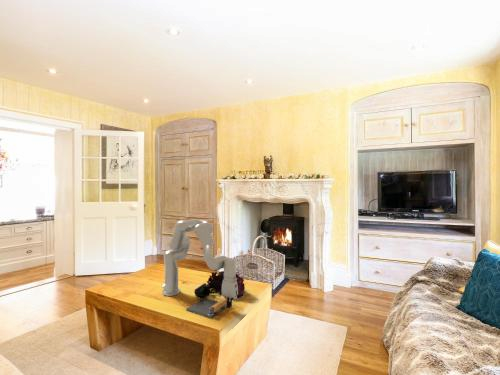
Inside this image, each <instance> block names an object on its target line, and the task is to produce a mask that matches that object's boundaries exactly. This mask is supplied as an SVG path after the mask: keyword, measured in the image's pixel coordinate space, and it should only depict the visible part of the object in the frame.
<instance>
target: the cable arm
mask: <svg viewBox="0 0 500 375" xmlns="http://www.w3.org/2000/svg"><path fill="white" fill-rule="evenodd" d="M225 304H227V301H226V299H225V297H223V298H222V299H220V300H219V301H218V302H217V303H216V304H214V305H213V306H211V307H209V314H214V312H216V311H217V310H219V309H220V308H221V307H223V306H224V305H225Z"/></svg>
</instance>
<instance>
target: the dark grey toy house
mask: <svg viewBox="0 0 500 375" xmlns="http://www.w3.org/2000/svg"><path fill="white" fill-rule="evenodd" d="M206 284H207V282H205V283H202V284H201V285H200V286H198V287H197V288H195V289H194V290H193V291H194V296H195V297H196V298H198V299H203V298H206V297H207V296H209V295H211V293H210V292H211V289H207V287H209V288H210V285H208V284H207V285H206Z"/></svg>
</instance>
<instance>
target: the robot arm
mask: <svg viewBox="0 0 500 375" xmlns="http://www.w3.org/2000/svg"><path fill="white" fill-rule="evenodd" d="M190 232H194V234H195V235H196V237H197V239H198V240H199V242H200V243H201V245H202V247H203V250H202V251H203V254H202V255H203V260H204V262H205V264H206V265H207V267H208V268H209V269H210V270H211V271H212V272H218V271H220V270H222V269H223V271H224V280H223V282H222V291H221V292H222V293H221V297H223V298H225V299H226V301H227V309H230V308H231V307H232V306H233V301H235V300H238V298H237V295H238V285H237V281H236V280H237V278H236V276H235V275H236V274H237V271H236V266H237V265H236V264H237V263H236V259H235V258H232V257H227V256H225V255H220V256H218V257H214V255H213V252H212V247H213V246H214V244H215V239H214V237H213V235H212V234H213V232H214V225H213V223H211V222H209V221H206V220H204V219H203V220H202V219H200V218H191V219H186V220H179V221H177V222H176V223H175V225H174V231H173V233H172V235H171V236H172V237H171V238H170V242H169V248H170V249H169V250H167V251H165V252H164V254H163V262H164V263H163V264H164V284H162V286H161V289H163V290H162V295H163V296H167V297H172V296H177V295H179V294H180V293H181V289H180V288H179V266H178V264H177V262H179V261H182V260H184V259H185V258H186V256H187V254H188V252H189V249H190V247H191V239H190V237H189V236H188V235H187V234H186V233H190Z"/></svg>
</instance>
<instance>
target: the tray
mask: <svg viewBox="0 0 500 375" xmlns="http://www.w3.org/2000/svg"><path fill="white" fill-rule="evenodd" d="M217 302H219V301H217V300H214V299H211V298H206V297H205V298H203V299H202V298H200V300H198V301H196V302H195V303H193V304H191V305H190V306H189V307H187V308H186V311H187V312H190V313H192V314H196V315H199V316H202V317H205V318H209V319H213V318H215V317H216V316H218V315H219V314H220V313H221V312H223V311H224V310H225V309H226V308H227V304H225V305H224V306H223V307H221V308H220V309H219V310H217V311H216V312H214V314H209V307H211V306H213V305H214V304H216V303H217ZM227 309H228V308H227Z"/></svg>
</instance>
